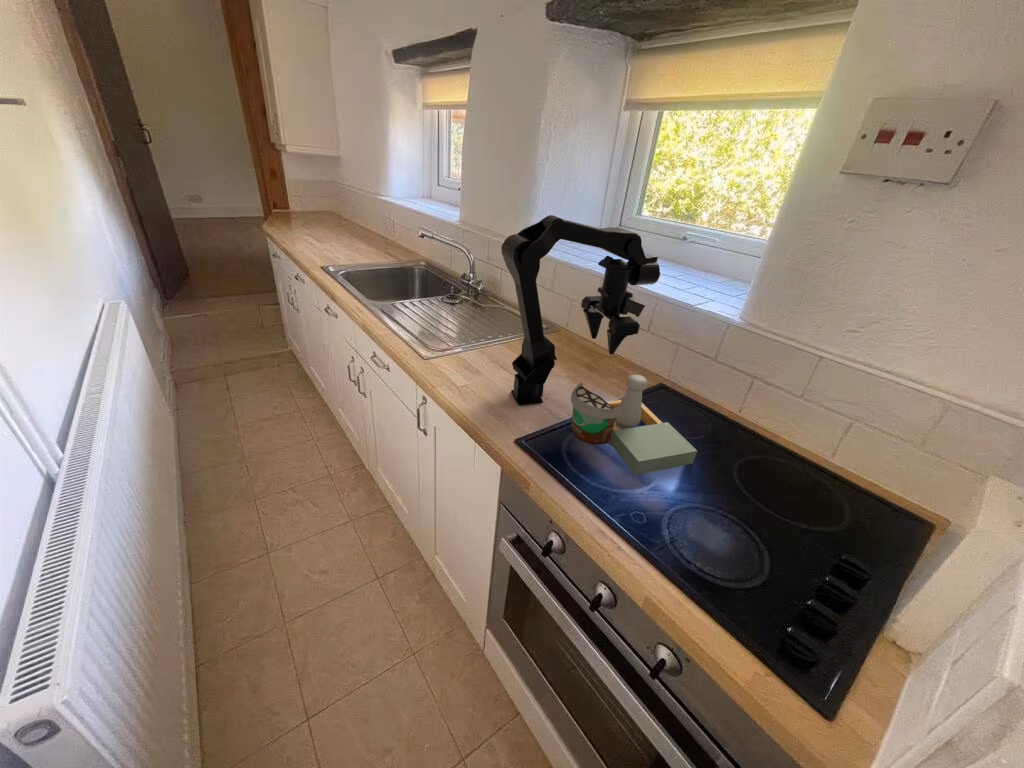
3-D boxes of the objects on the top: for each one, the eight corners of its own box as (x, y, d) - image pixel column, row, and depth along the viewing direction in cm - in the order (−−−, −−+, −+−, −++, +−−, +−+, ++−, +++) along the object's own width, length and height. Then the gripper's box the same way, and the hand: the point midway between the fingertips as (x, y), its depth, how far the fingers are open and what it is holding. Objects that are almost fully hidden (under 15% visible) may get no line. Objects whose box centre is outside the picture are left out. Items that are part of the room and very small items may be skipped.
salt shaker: (620, 415, 99) (632, 368, 92) (642, 425, 96) (656, 377, 89) (608, 425, 95) (619, 377, 88) (630, 436, 92) (644, 387, 85)
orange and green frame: (634, 474, 81) (638, 461, 79) (586, 414, 98) (589, 402, 96) (692, 463, 85) (697, 450, 83) (636, 407, 102) (640, 395, 100)
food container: (554, 424, 93) (560, 387, 88) (574, 417, 97) (580, 381, 91) (592, 456, 85) (601, 417, 80) (612, 446, 88) (622, 408, 83)
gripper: (667, 298, 91) (650, 360, 99) (623, 274, 106) (611, 329, 114) (623, 300, 87) (609, 364, 95) (585, 274, 102) (575, 331, 110)
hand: (602, 345), depth 104 cm, fingers open, 9 cm apart
